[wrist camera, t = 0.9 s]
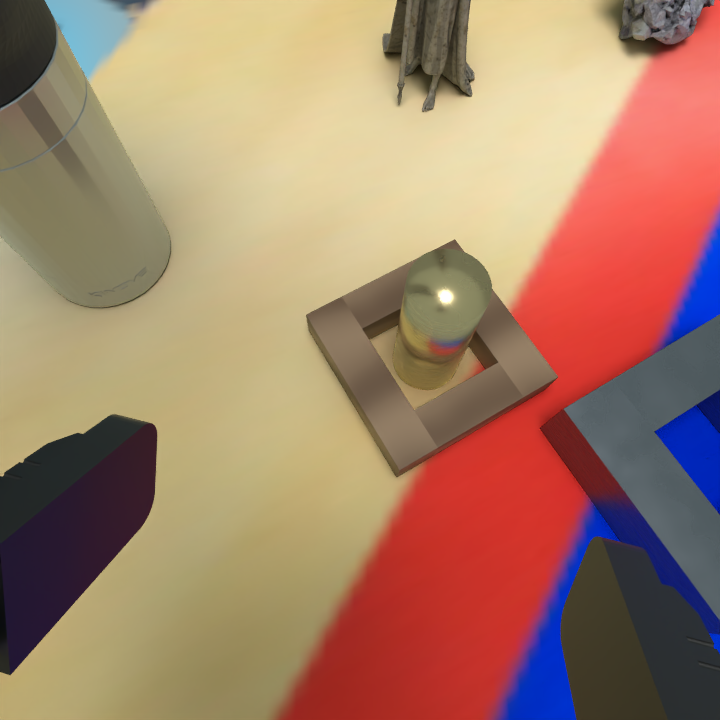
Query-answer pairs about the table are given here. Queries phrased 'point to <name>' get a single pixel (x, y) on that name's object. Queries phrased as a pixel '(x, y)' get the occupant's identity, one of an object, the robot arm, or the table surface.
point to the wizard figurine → (431, 42)
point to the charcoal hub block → (652, 463)
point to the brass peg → (439, 316)
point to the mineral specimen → (661, 19)
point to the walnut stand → (446, 412)
